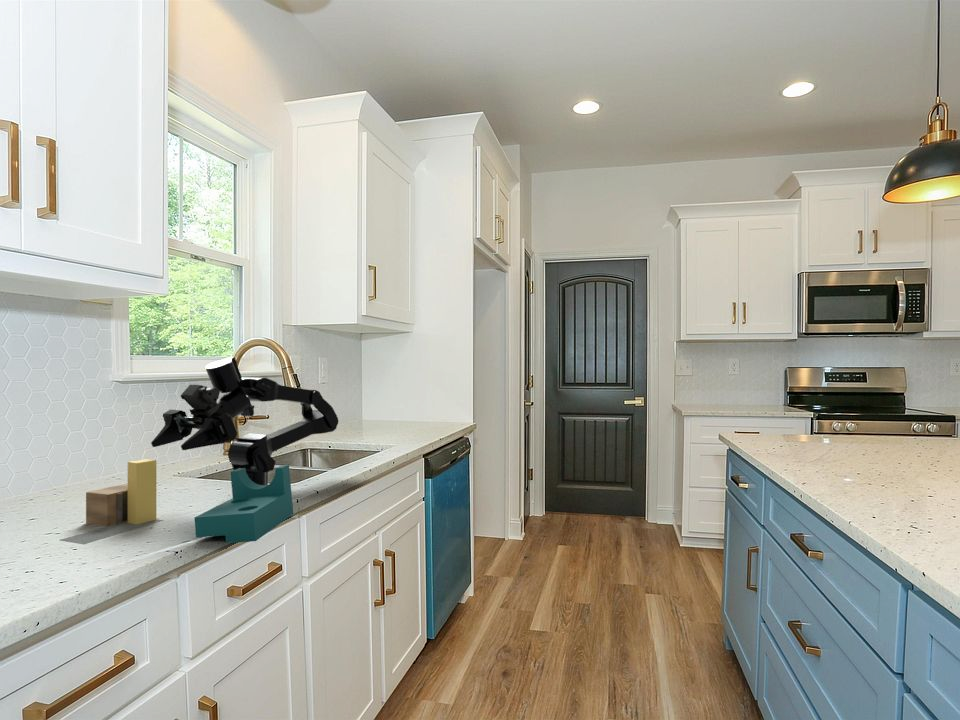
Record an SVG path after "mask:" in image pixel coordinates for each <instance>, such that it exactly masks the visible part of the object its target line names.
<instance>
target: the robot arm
mask: <svg viewBox="0 0 960 720" xmlns="http://www.w3.org/2000/svg"><path fill="white" fill-rule="evenodd" d="M204 368H205V372H206V374H207V375H208V378H209V381H210V383H211V386H210V387H207V386H205V385H202V384H189V385H188V386H187V387H186V389H184V391H183V392H182V393H181V394H180V398H181V399H182V400H184V401H185V402H186V404H188V405H189V407H191V408H190V409H189V412H190V415H192V416H188V415H187V413H186V411H184V410H180V409H168V410H167V411H166V412H164V413H163V414H162V418H163V421H164V426H163V427H162V428H161V430H160V431H159V433H158V434H157V435H156V436H155V437H154V438H153V440H152V441H151V442H150V443H151V446H152V448H156V447H160V446H164V445H168V444H172V443H176V442H179V441H182V440H184V439H185V438H187V437H188V436H190V435H192V431H193V429H197V430H198V431H196V432H195V433H194V434H193V435H192V436H190V437H188V438H187V440H185V441H184V442H183V443H182V444H181V445H180V448H181V450H182V451H187V450H194V449H198V448H204V447H208V446H209V447H210V446H215V445H223V444H226V443H227V444H230V445H229V448H228V451H227V456H228V459H229V461H230V464H231V467H232V469H233V470H232V471H234V470H236V469H240V468H245V469H246V473H247V475H248V477H249V478H250V479H251V481H253V482H254V483H256V484H258V485H269V481H268V479H269V475H268V474H269V472H270V471H274V470H275V466H276V460H275V459H274V457H272V454H273V453H274V452H277V451H279V450H280V449H284V448H285V447H287V446H289V445H292V444H294V443H297V442H299V441H300V440H301V441H302V440H303V439H306V438H307V437H310V436H312V435H321V434H329V433H332V432H335V430H337V426H338V424H339V417H338V415H337V413H336V412H335V409H334V408H333V406H332V405H331V404H330V403H328V401H327V400H325V399H324V397H323V395H322V394H321V392H320V391H319V390H317V389H306V388H300V387H294V386H287V385H282V384H279V383H278V382H277V381H275V380H272V379H270V378H268V377H242V375H241V371H240V369H239V367H238V363H237V359H236V357H234V356H229V357H226V358H223V359H220V360H219V359H218V360H216V361H212V362H210V363H207V364H206V365H205V367H204ZM220 394H223V395H221V396H220ZM272 401H280V402H281V401H282V402H283V401H284V402H291V403H299V404H300V405H301V415H302V419H301V420H300V421H298V422H295V423H292V424H290V425H288V426H286V427H282V428H281V429H278V430H276V431H273V432H271V433H267V434H266V433H264V434H263V433H253V432H252V433H251V432H249V433H246V434H245V435H243V436H240V437H238V436H237V435H238V429H237V427H236V424H235V422H234V419H235V418H237V417H238V416H239V415H241V416H242V417H254V415H255V405H253V404H252V403H251V402H260V403H261V402H263V403H264V402H272ZM312 405H313V407H314V409H313V408H312ZM231 442H232V443H231Z"/></svg>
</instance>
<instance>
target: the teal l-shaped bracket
mask: <svg viewBox="0 0 960 720" xmlns="http://www.w3.org/2000/svg"><path fill="white" fill-rule="evenodd" d="M274 470H275V472H274V475H273V476H274V477H273V479H272V481H270V483H268V485H258V484H256V483H254V482H253V481H251V479H250V478H249V477H248V475H247V473H246V469H245V468H240V469H236V470H232V471H230V483H231V493H232V494H231V495H232V498H230V499H228V500H226V501H225V502H222V503H220V504H218V505H217V506H214V507H213V508H210V509H208V510H207V511H204V512H202V513H201V514H199V515H196V516H195V517H193V518H194V528H195V529H194V530H195V538H207V537H219V536H225V544H226V543H231V544H235V543H237V544H238V543H249V542H250V543H251V542H257V541H258V540H260V539H261V538H262V537H264V536H265V535H266V534H268V533H269V532H270V531H272V530H273V529H275V528H276V527H278V526H279V525H280V524H282V523H283V522H284V521H286V520H287V519H288V518H290V517H292V516H293V515H294V509H293V497H292V496H293V495H292V486H291V485H292V484H291V473H290V472H291V471H290V464H282V465H279V466H277V467H274Z"/></svg>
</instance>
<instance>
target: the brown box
mask: <svg viewBox="0 0 960 720" xmlns="http://www.w3.org/2000/svg"><path fill="white" fill-rule="evenodd" d="M125 521H128V482H127V483H123V484H117V485H112V486H108V487H105V488H99V489H95V490H91V491H86V492H85V524H86V525H95V526H102V527H107V526H111V525H114V524H121V523H122V522H125Z"/></svg>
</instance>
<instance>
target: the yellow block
mask: <svg viewBox="0 0 960 720" xmlns="http://www.w3.org/2000/svg"><path fill="white" fill-rule="evenodd" d="M127 483H128V523H132V524H136V525H137V524H141V523H145V522H149V521H153V520H156V519H157V460H156V459H150V458H145V459H139V460H132V461H127Z"/></svg>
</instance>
